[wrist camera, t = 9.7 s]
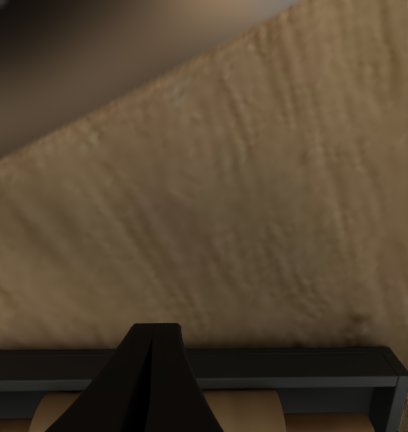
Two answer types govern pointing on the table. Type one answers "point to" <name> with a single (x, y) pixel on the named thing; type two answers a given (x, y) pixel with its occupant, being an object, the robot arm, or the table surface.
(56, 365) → the pastry tray
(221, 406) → the rolling pin
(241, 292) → the table surface
